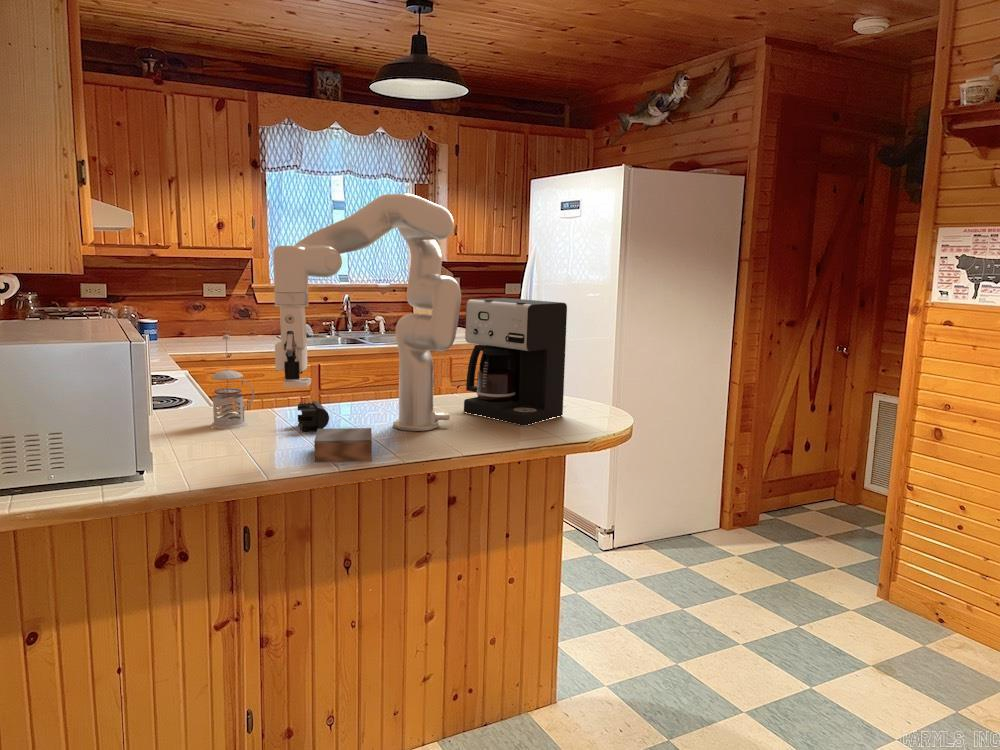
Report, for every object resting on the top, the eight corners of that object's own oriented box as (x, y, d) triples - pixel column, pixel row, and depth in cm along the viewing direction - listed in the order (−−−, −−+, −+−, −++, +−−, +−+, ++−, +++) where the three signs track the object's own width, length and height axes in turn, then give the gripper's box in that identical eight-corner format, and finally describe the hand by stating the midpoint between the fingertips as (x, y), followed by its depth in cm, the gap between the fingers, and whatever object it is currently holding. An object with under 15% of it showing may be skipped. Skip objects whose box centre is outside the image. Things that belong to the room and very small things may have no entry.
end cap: (329, 431, 203) (329, 407, 201) (302, 433, 200) (302, 408, 199) (323, 423, 212) (323, 400, 211) (297, 425, 209) (297, 401, 208)
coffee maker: (452, 411, 232) (454, 297, 226) (493, 402, 247) (496, 296, 241) (523, 426, 214) (527, 303, 208) (563, 416, 229) (568, 301, 223)
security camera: (282, 382, 179) (280, 341, 177) (311, 382, 180) (310, 341, 178) (276, 387, 173) (274, 344, 171) (306, 387, 173) (305, 344, 172)
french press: (208, 422, 209) (205, 333, 205) (252, 419, 213) (250, 332, 209) (211, 430, 200) (207, 337, 196) (256, 427, 205) (254, 336, 201)
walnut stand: (371, 447, 187) (371, 427, 186) (371, 460, 175) (371, 439, 175) (317, 448, 185) (317, 428, 184) (314, 462, 173) (314, 440, 172)
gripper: (304, 303, 165) (307, 383, 168) (311, 297, 182) (313, 369, 185) (269, 302, 164) (272, 383, 167) (279, 297, 181) (282, 370, 184)
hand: (294, 375), depth 176 cm, fingers closed on security camera, 6 cm apart
